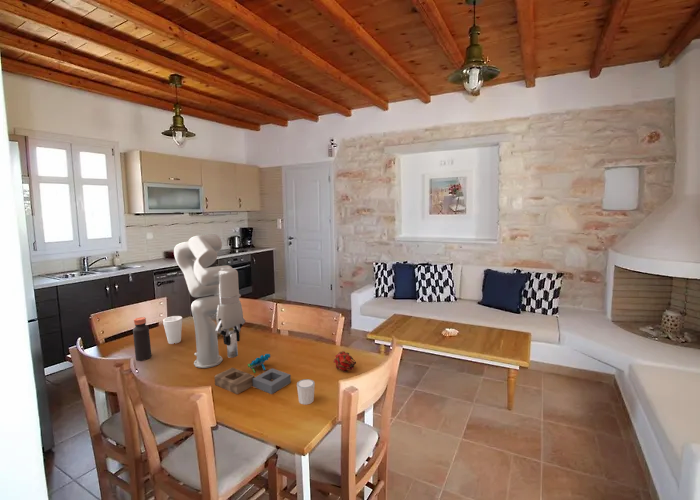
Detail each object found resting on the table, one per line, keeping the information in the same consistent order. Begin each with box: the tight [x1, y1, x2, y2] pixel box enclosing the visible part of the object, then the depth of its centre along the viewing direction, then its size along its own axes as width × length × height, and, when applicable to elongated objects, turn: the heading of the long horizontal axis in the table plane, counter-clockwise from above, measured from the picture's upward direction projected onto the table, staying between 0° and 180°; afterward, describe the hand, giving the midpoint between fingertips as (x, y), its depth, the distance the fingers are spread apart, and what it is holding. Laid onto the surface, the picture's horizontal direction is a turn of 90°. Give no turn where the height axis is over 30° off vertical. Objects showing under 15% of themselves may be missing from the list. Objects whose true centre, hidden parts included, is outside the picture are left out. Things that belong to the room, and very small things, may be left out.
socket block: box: [252, 368, 292, 395], centre depth 151 cm, size 11×11×4 cm
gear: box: [247, 353, 271, 374], centre depth 164 cm, size 11×6×10 cm
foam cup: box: [162, 315, 183, 345], centre depth 198 cm, size 10×9×13 cm
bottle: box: [132, 316, 152, 362], centre depth 177 cm, size 7×7×20 cm
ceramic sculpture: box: [217, 327, 234, 338], centre depth 207 cm, size 11×9×15 cm
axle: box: [226, 331, 239, 359], centre depth 149 cm, size 4×4×10 cm
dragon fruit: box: [333, 350, 357, 373], centre depth 163 cm, size 8×8×12 cm
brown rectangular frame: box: [214, 367, 255, 395], centre depth 151 cm, size 14×9×4 cm, turn 56°
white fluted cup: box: [296, 378, 316, 406], centre depth 138 cm, size 7×7×7 cm
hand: (231, 342), depth 149 cm, fingers closed on axle, 4 cm apart
